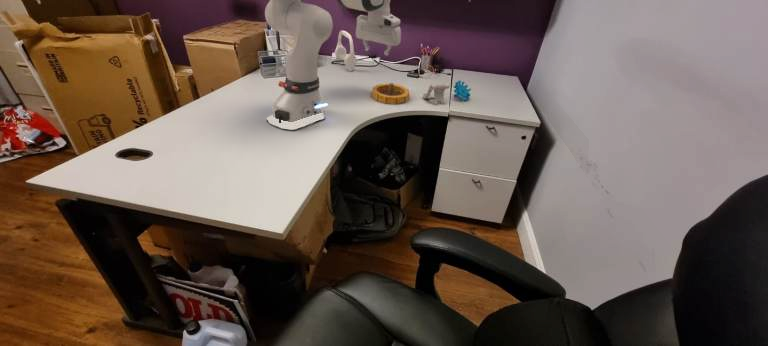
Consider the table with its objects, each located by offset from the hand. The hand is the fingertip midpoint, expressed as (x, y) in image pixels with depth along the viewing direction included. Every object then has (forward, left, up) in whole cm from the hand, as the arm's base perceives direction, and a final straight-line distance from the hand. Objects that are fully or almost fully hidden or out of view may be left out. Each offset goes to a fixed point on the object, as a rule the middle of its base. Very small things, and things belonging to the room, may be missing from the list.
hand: (376, 52), depth 140 cm
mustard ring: (0, -8, -18) cm, 20 cm away
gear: (+20, -36, -18) cm, 45 cm away
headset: (+23, +32, -18) cm, 44 cm away
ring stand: (0, -8, -18) cm, 20 cm away
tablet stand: (+9, -27, -18) cm, 34 cm away
